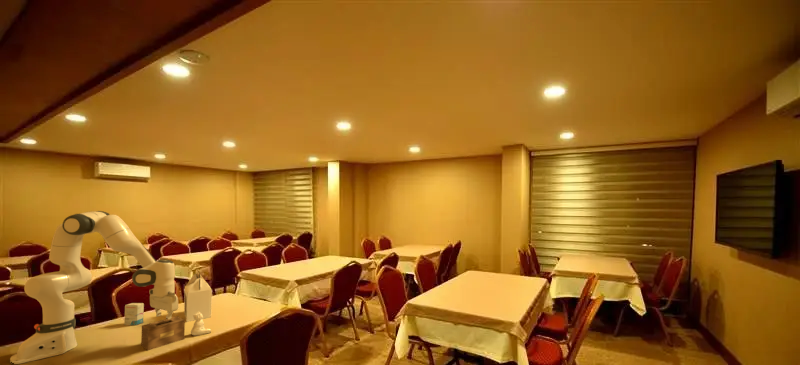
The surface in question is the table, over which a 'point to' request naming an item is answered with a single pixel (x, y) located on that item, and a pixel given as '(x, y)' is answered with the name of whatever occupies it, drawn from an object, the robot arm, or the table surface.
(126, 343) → the table surface
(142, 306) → the ink box
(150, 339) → the coin box
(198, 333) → the sitting furry creature
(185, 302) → the gable box
